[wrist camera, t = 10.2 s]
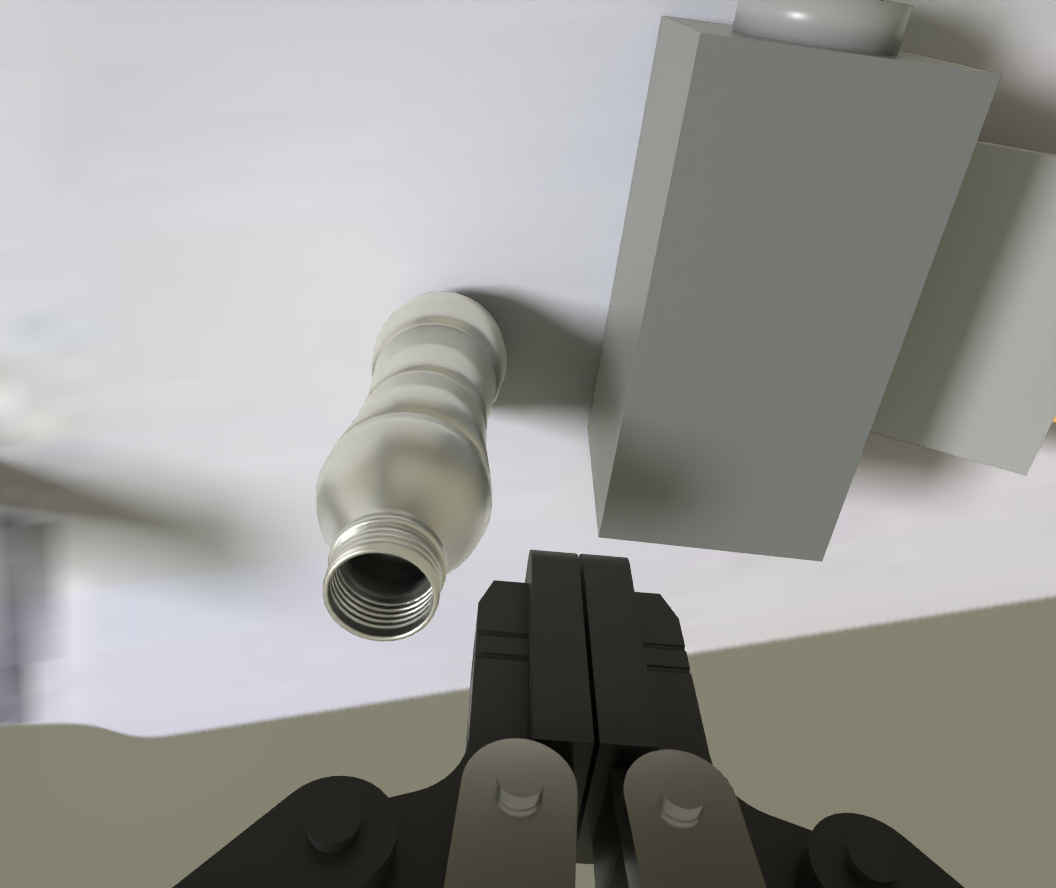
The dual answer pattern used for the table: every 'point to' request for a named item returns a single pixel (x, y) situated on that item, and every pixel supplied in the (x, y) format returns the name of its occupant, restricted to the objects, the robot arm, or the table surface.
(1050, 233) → the side door
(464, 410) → the plastic bottle
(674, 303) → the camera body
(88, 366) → the table surface
